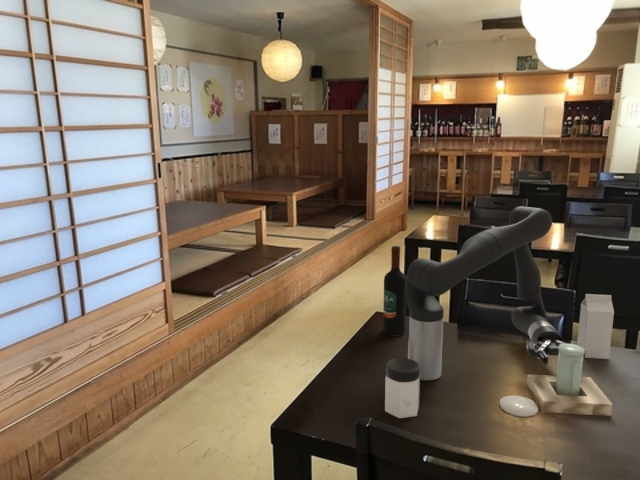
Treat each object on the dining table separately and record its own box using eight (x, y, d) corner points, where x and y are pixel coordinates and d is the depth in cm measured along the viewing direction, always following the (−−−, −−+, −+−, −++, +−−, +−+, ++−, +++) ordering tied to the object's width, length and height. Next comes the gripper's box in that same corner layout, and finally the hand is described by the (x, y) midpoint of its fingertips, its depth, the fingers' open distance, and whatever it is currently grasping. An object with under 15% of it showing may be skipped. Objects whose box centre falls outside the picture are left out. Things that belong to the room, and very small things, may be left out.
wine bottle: (406, 336, 173) (409, 249, 167) (384, 336, 174) (385, 249, 167) (403, 327, 181) (405, 244, 174) (382, 327, 181) (383, 244, 175)
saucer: (504, 415, 125) (504, 413, 125) (496, 396, 134) (496, 394, 134) (542, 417, 124) (543, 415, 124) (532, 398, 133) (532, 396, 133)
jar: (390, 420, 124) (391, 374, 121) (379, 403, 131) (380, 359, 129) (425, 415, 126) (427, 370, 123) (412, 399, 133) (413, 355, 131)
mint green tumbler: (560, 408, 128) (565, 355, 125) (550, 392, 136) (555, 343, 133) (585, 409, 127) (591, 357, 124) (574, 394, 135) (579, 344, 132)
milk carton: (608, 359, 154) (615, 299, 150) (583, 358, 156) (589, 298, 152) (601, 349, 161) (607, 291, 157) (576, 348, 162) (582, 290, 158)
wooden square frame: (542, 412, 126) (542, 401, 126) (526, 384, 140) (527, 374, 139) (611, 415, 124) (612, 404, 124) (588, 387, 138) (590, 377, 137)
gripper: (520, 324, 150) (536, 347, 134) (571, 326, 149) (594, 349, 133) (518, 348, 152) (534, 374, 136) (569, 350, 150) (591, 376, 134)
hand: (563, 361), depth 134 cm, fingers open, 8 cm apart
